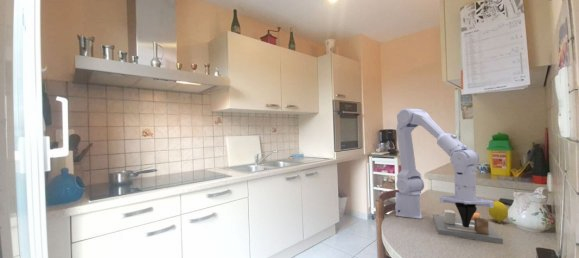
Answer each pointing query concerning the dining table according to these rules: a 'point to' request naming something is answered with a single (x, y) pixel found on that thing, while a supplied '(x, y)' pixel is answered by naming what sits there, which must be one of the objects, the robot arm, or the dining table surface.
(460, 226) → the panel
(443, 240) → the dining table surface
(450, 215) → the slider cream
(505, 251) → the dining table surface
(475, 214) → the button orange
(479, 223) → the slider walnut
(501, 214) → the lemon
